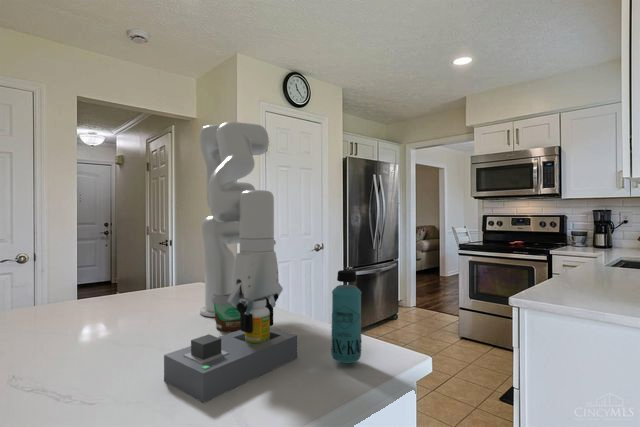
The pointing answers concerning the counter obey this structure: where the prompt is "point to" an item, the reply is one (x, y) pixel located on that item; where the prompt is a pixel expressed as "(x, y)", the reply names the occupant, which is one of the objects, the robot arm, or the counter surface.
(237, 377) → the control panel
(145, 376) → the counter surface
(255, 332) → the supplement bottle
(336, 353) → the beverage bottle
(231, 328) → the food container
